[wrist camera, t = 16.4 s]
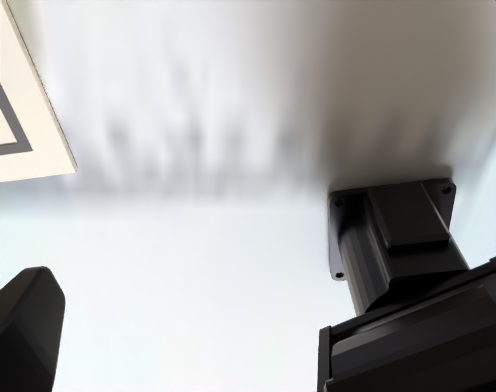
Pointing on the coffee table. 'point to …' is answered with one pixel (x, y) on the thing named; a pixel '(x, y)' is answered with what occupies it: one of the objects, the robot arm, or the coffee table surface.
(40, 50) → the coffee table surface
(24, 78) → the card
